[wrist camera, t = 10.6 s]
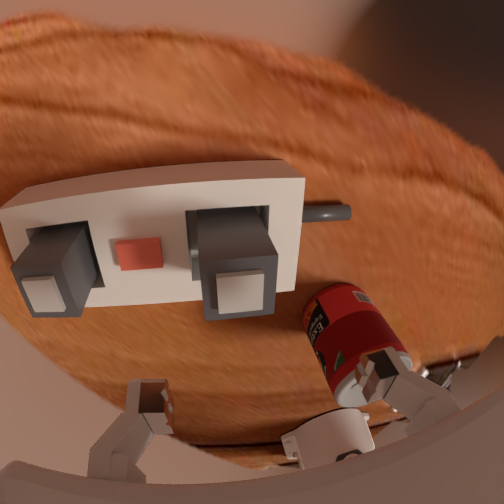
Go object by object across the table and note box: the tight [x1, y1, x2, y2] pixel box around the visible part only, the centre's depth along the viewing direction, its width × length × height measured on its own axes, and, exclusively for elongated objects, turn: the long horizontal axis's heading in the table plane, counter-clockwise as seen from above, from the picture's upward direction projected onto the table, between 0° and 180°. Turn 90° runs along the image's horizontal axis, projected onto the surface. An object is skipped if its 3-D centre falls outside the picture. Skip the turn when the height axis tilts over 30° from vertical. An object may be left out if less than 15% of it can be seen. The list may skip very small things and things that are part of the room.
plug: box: [197, 206, 278, 321], centre depth 19 cm, size 4×4×8 cm
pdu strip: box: [0, 160, 351, 317], centre depth 20 cm, size 9×28×9 cm, turn 89°
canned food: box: [303, 284, 412, 408], centre depth 28 cm, size 8×8×11 cm
